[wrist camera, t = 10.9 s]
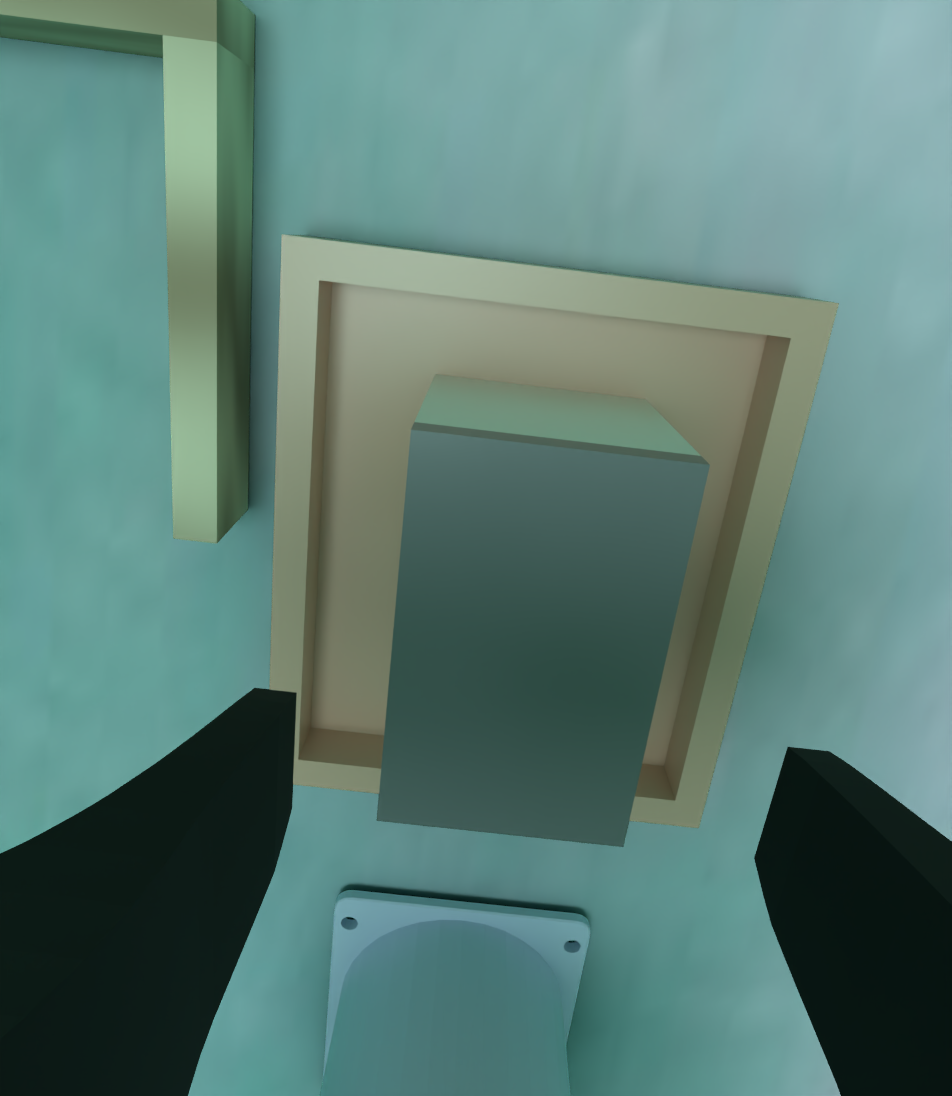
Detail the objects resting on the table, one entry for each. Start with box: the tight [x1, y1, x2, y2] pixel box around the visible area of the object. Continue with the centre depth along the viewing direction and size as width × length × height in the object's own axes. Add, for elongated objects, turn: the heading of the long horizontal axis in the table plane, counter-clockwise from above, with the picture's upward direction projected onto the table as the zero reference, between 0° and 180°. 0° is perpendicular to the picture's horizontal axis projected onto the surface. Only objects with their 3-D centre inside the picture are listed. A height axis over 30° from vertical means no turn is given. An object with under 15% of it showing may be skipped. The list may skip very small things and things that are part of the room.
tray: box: [270, 235, 839, 828], centre depth 20 cm, size 14×12×2 cm
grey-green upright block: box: [377, 374, 710, 847], centre depth 17 cm, size 8×5×6 cm, turn 173°
